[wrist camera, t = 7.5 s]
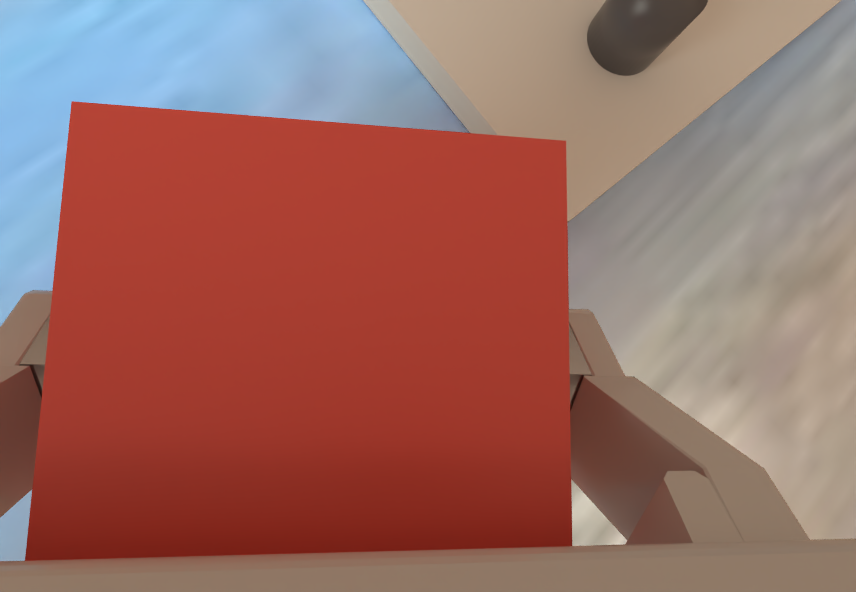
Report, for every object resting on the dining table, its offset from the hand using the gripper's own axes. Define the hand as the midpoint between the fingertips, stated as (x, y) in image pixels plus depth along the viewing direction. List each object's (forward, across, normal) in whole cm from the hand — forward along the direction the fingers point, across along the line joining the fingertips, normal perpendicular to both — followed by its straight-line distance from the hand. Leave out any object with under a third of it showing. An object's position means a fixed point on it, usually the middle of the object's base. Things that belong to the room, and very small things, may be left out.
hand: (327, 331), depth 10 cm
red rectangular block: (+3, 0, +4) cm, 5 cm away
